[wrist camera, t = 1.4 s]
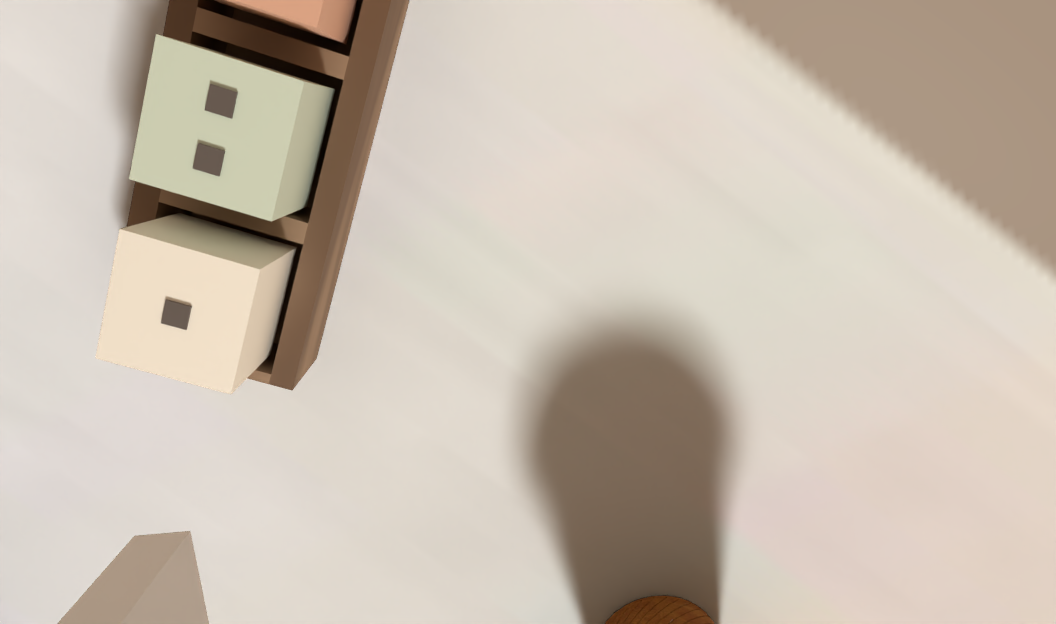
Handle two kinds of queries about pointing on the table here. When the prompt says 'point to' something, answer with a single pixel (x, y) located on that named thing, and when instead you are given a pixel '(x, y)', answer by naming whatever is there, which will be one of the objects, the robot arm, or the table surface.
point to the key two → (229, 130)
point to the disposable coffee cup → (660, 612)
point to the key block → (340, 164)
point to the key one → (194, 301)
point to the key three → (304, 14)
